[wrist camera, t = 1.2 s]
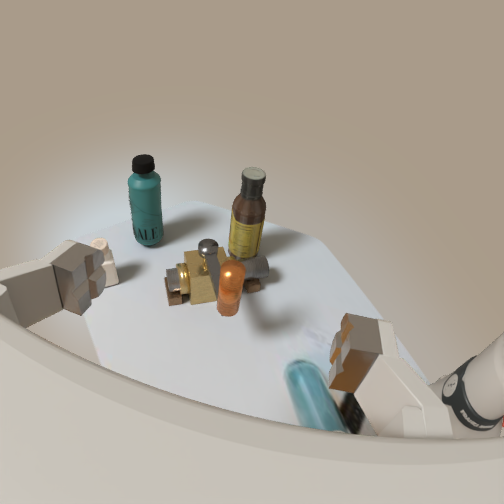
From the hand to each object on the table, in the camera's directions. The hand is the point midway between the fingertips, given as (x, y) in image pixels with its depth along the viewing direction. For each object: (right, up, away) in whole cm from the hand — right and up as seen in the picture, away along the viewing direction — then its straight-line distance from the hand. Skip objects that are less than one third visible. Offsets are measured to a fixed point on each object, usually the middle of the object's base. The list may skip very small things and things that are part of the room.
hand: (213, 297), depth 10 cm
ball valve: (-6, -5, +50) cm, 50 cm away
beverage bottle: (-21, +4, +56) cm, 60 cm away
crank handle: (-4, -3, +39) cm, 39 cm away
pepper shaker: (-26, -4, +47) cm, 54 cm away
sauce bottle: (-1, +1, +57) cm, 57 cm away
